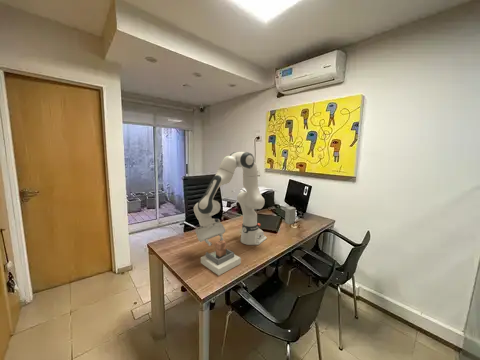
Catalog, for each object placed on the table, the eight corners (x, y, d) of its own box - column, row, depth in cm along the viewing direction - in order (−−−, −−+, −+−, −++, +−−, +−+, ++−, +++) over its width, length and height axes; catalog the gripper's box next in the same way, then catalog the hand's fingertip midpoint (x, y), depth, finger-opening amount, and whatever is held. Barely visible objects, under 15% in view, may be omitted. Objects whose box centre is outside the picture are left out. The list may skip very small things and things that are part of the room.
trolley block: (221, 254, 132) (221, 240, 131) (225, 256, 129) (226, 242, 128) (215, 257, 129) (215, 242, 127) (219, 259, 126) (219, 244, 124)
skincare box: (290, 221, 209) (291, 206, 207) (295, 223, 203) (296, 207, 200) (284, 222, 205) (285, 207, 203) (289, 224, 199) (289, 209, 196)
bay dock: (222, 253, 142) (222, 243, 141) (240, 263, 130) (240, 253, 129) (200, 263, 130) (200, 252, 129) (218, 275, 117) (218, 264, 116)
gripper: (195, 226, 127) (205, 246, 122) (221, 218, 141) (230, 236, 136) (192, 230, 131) (201, 250, 125) (217, 223, 145) (226, 240, 140)
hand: (216, 243), depth 131 cm, fingers open, 8 cm apart
